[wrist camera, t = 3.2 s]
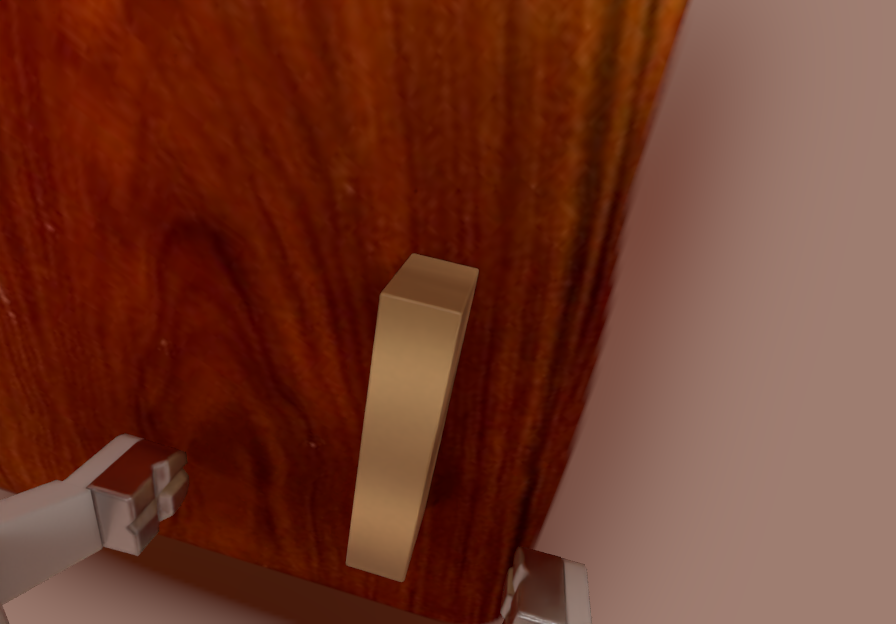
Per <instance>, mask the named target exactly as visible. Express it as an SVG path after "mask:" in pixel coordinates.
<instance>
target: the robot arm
mask: <svg viewBox="0 0 896 624" xmlns="http://www.w3.org/2000/svg"><path fill="white" fill-rule="evenodd" d="M187 463H188V462H187V454H186V452H184V451H181V450H178V449H175V448H172V447H169V446H166V445H162V444H159V443H156V442H153V441H150V440H147V439H143V438H140V437H136V436H133V435H130V434H126V433H125V434H122V435H119V436H117V437H116V438H115V439H113V440H112V441H111V442H110V443H108V444H107V445H106V446H105V447H104V448H102V449H101V450H100V451H99V452H98V453H96V454H95V455H94V456H93V457H92V458H90V459H89V460H88V461H87V462H86V463H84V464H83V465H82V466H81V467H80V468H78V469H77V470H76V471H75V472H74V473H72V474H71V475H70V476H69V477H68V478H66V479H65V480H64V481H59V480H55V481H52V482H50V483H47V484H44V485H41V486H38V487H36V488H33V489H30V490H27V491H24V492H22V493H19V494H16V495H13V496H11V497H8V498H5V499H2V500H0V624H9V622H8V619H7V616H6V614H5V611H4V609H3V606H2V605H3V604H5V603H7V602H9V601H10V600H12V599H14V598H16V597H18V596H19V595H21V594H23V593H24V592H26V591H28V590H30V589H32V588H33V587H35V586H37V585H39V584H40V583H42V582H44V581H46V580H48V579H49V578H51V577H53V576H55V575H56V574H58V573H60V572H62V571H64V570H65V569H67V568H69V567H71V566H72V565H74V564H76V563H78V562H80V561H81V560H83V559H85V558H87V557H88V556H90V555H92V554H94V553H95V552H97V551H99V550H101V549H102V546H104V547H108V548H112V549H115V550H119V551H122V552H126V553H130V554H133V555H137V556H138V555H139V554H140V553H141V552H142V551H143V549H144V548H145V547H146V546H147V545H148V544H149V542H150V541H151V540H152V539H153V538H154V537H155V536H156V534H157V533H158V532H159V525H160V521H162V520H164V519H166V518H168V517H170V516H172V515H173V514H174V513H175V512H176V511H177V509H178V508H179V507H180V506H181V504H182V502H183V500H184V498H185V496H186V494H187V491H188V487H189V476H188V474H187V473H186V472H185V470H184V469H183V467H184V466H185V465H186V464H187ZM587 579H588V578H587V569H586V567H585V565H584V564H581V563H578V562H574V561H571V560H567V559H564V558H561V557H558V556H555V555H551V554H547V553H544V552H540V551H536V550H533V549H529V548H525V547H521V546H519V547H518V548H517V550H516V552H515V555H514V564H513V567H512V568H509V571H508V574H507V576H506V580H505V584H504V588H503V594H502V601H501V612H500V613H501V615H502V616H503V618H504V621H503V624H592V620H591V610H590V601H589V600H590V599H589V589H588V580H587Z"/></svg>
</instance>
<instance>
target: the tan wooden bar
mask: <svg viewBox="0 0 896 624" xmlns="http://www.w3.org/2000/svg"><path fill="white" fill-rule="evenodd" d="M478 273H479V270H478V269H477V268H472V267H468V266H464V265H460V264H456V263H452V262H448V261H443V260H439V259H435V258H431V257H427V256H423V255H419V254H411V256H410V257H409V258H408V259H407V261H406V262H405V263H404V264H403V266H402V267H401V268H400V269H399V271H398V272H397V273H396V274H395V276H394V277H393V278H392V279H391V281H390V282H389V283H388V284H387V286H386V287H385V288H384V289H383V291H382V292H381V293H380V299H379V306H378V314H377V322H376V330H375V338H374V345H373V353H372V361H371V369H370V377H369V385H368V392H367V400H366V408H365V416H364V424H363V432H362V439H361V447H360V455H359V463H358V471H357V478H356V486H355V494H354V502H353V510H352V518H351V525H350V533H349V541H348V549H347V557H346V565H347V566H350V567H354V568H357V569H360V570H364V571H367V572H370V573H373V574H377V575H380V576H383V577H386V578H390V579H393V580H396V581H400V582H403V581H404V580H405V577H406V573H407V570H408V566H409V563H410V560H411V556H412V553H413V549H414V546H415V542H416V539H417V536H418V532H419V529H420V525H421V522H422V519H423V515H424V512H425V508H426V503H427V499H428V494H429V490H430V486H431V481H432V477H433V472H434V468H435V463H436V459H437V455H438V450H439V446H440V441H441V437H442V432H443V428H444V424H445V419H446V415H447V410H448V406H449V402H450V397H451V393H452V388H453V384H454V379H455V375H456V371H457V366H458V362H459V357H460V353H461V349H462V344H463V340H464V335H465V331H466V326H467V322H468V318H469V313H470V309H471V304H472V300H473V296H474V291H475V287H476V282H477V278H478Z"/></svg>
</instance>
